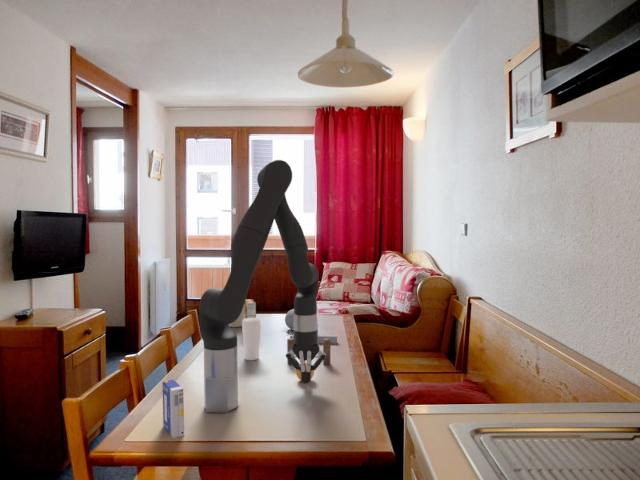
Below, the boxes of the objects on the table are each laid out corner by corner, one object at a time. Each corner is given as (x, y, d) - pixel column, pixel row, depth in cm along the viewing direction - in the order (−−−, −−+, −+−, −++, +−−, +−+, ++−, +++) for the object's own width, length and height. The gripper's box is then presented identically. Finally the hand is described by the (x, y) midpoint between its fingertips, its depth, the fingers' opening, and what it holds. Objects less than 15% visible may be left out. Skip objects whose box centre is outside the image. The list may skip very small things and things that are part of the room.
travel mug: (245, 323, 226) (245, 288, 225) (243, 327, 218) (243, 290, 217) (229, 323, 226) (229, 288, 225) (227, 327, 218) (226, 291, 217)
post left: (294, 364, 162) (294, 340, 162) (287, 364, 162) (286, 340, 162) (294, 362, 165) (294, 338, 164) (287, 362, 165) (287, 338, 165)
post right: (330, 365, 162) (330, 340, 161) (323, 365, 162) (323, 340, 161) (330, 362, 164) (330, 338, 164) (323, 362, 164) (323, 338, 164)
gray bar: (337, 343, 190) (337, 336, 190) (289, 343, 191) (289, 336, 191) (337, 342, 192) (337, 335, 192) (290, 341, 193) (290, 334, 193)
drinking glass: (257, 362, 165) (256, 321, 165) (239, 361, 167) (239, 321, 166) (263, 356, 172) (262, 317, 171) (246, 355, 173) (246, 317, 173)
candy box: (244, 331, 210) (244, 299, 210) (253, 331, 212) (253, 298, 211) (247, 336, 202) (246, 302, 201) (256, 335, 203) (256, 302, 202)
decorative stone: (282, 328, 217) (282, 307, 216) (302, 326, 220) (302, 306, 220) (288, 333, 207) (288, 311, 207) (308, 331, 211) (308, 310, 210)
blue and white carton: (163, 426, 114) (162, 380, 114) (174, 423, 116) (173, 378, 115) (173, 438, 108) (172, 389, 107) (184, 435, 109) (183, 387, 109)
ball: (313, 384, 143) (313, 365, 143) (295, 383, 143) (295, 365, 143) (314, 377, 149) (314, 359, 149) (296, 377, 149) (296, 359, 149)
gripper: (282, 330, 136) (283, 386, 137) (325, 331, 135) (326, 387, 135) (286, 324, 143) (287, 378, 144) (327, 325, 142) (328, 378, 143)
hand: (306, 382), depth 140 cm, fingers closed
